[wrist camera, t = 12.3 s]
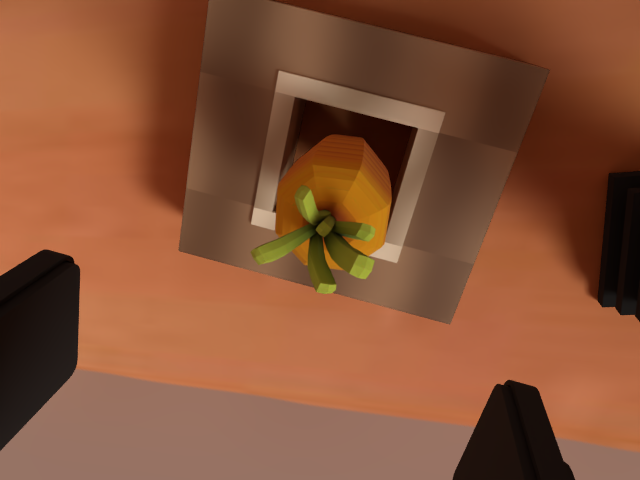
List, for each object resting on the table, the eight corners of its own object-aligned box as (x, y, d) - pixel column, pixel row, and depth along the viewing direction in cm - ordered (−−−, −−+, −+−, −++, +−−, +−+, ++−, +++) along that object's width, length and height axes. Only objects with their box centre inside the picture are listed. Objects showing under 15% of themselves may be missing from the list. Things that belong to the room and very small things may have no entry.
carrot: (292, 166, 31) (217, 293, 17) (331, 91, 29) (280, 168, 15) (365, 205, 31) (347, 359, 18) (408, 134, 29) (426, 246, 16)
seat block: (529, 63, 27) (551, 70, 23) (444, 290, 33) (450, 326, 29) (235, -9, 28) (209, -15, 24) (203, 225, 33) (177, 252, 29)
